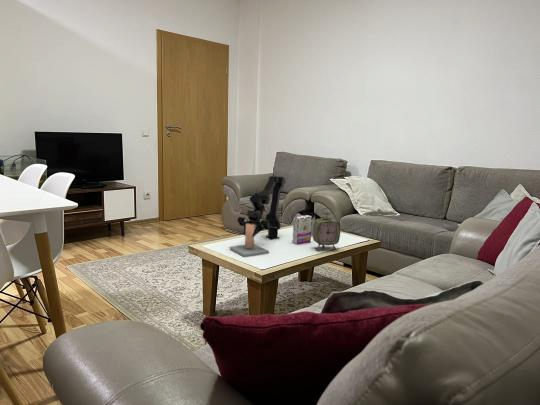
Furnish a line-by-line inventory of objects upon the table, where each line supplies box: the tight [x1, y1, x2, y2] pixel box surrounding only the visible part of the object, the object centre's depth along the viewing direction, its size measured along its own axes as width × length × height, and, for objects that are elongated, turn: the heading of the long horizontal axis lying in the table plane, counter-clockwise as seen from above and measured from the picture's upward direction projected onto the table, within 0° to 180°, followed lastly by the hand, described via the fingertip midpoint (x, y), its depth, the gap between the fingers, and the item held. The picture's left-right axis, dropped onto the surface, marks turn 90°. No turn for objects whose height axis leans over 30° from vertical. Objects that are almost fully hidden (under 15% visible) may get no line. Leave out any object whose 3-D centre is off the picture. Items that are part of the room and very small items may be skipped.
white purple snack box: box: [294, 211, 316, 238], centre depth 286 cm, size 9×14×15 cm, turn 71°
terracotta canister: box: [244, 223, 256, 248], centre depth 243 cm, size 5×5×13 cm
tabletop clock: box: [312, 207, 341, 251], centre depth 254 cm, size 14×9×25 cm, turn 106°
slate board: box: [229, 243, 270, 258], centre depth 244 cm, size 16×16×2 cm
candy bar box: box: [292, 215, 312, 245], centre depth 266 cm, size 11×5×16 cm, turn 126°
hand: (248, 235), depth 241 cm, fingers closed on terracotta canister, 5 cm apart
